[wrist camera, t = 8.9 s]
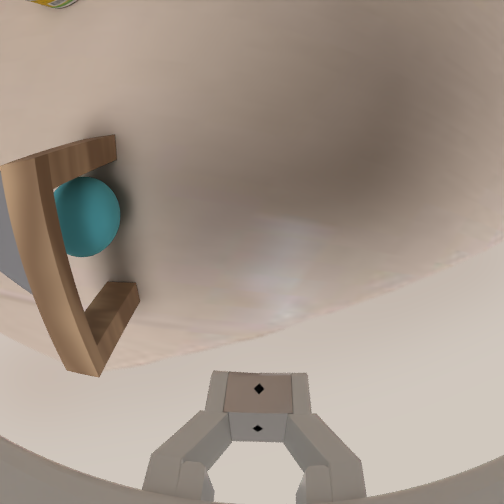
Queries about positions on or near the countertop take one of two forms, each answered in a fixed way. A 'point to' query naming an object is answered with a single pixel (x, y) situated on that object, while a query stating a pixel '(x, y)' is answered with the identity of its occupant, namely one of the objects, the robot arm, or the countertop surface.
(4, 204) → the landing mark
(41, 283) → the bridge
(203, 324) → the countertop surface
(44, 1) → the supplement bottle
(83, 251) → the ball
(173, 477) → the robot arm
